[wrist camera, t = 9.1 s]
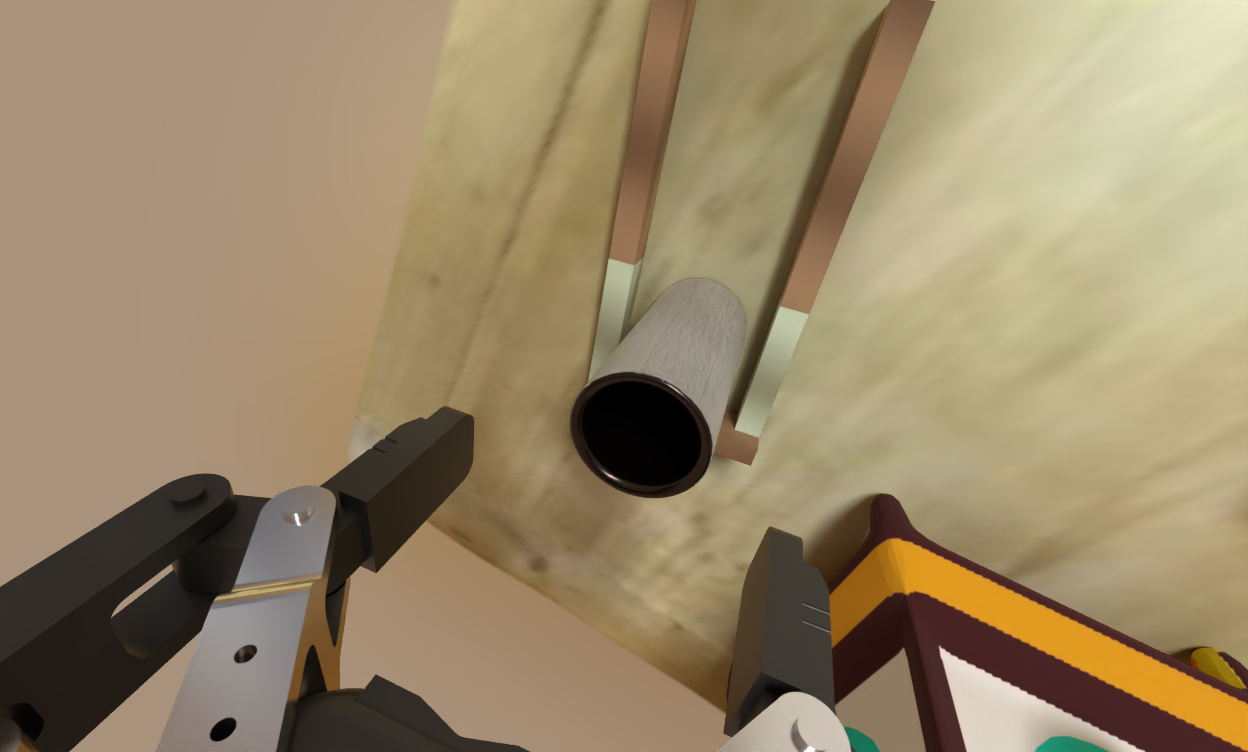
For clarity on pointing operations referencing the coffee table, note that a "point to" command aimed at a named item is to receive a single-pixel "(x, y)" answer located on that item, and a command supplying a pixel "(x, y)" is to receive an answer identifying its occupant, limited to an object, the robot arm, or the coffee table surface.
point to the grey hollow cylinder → (662, 393)
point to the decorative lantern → (1005, 663)
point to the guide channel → (825, 222)
